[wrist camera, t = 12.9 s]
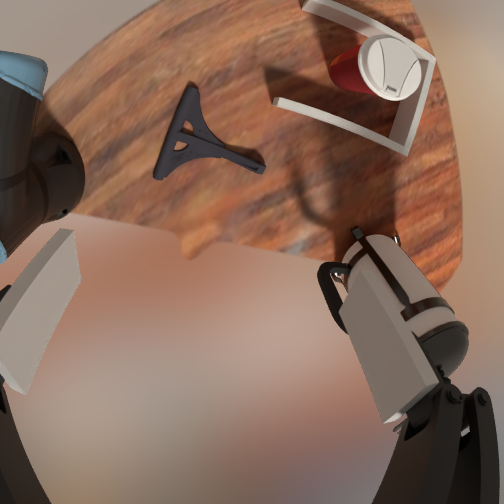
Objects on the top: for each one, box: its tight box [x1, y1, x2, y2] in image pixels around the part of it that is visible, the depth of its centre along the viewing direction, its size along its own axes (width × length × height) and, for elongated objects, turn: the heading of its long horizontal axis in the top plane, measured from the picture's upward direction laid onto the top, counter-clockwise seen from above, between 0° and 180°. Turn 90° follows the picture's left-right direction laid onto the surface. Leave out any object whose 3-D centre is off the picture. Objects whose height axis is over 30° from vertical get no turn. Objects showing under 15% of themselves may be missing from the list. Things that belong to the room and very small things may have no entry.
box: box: [272, 0, 436, 156], centre depth 29 cm, size 20×17×5 cm
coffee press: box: [317, 226, 469, 384], centre depth 35 cm, size 17×16×30 cm
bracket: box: [153, 86, 266, 180], centre depth 36 cm, size 14×15×3 cm
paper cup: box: [329, 34, 421, 101], centre depth 25 cm, size 8×8×14 cm
